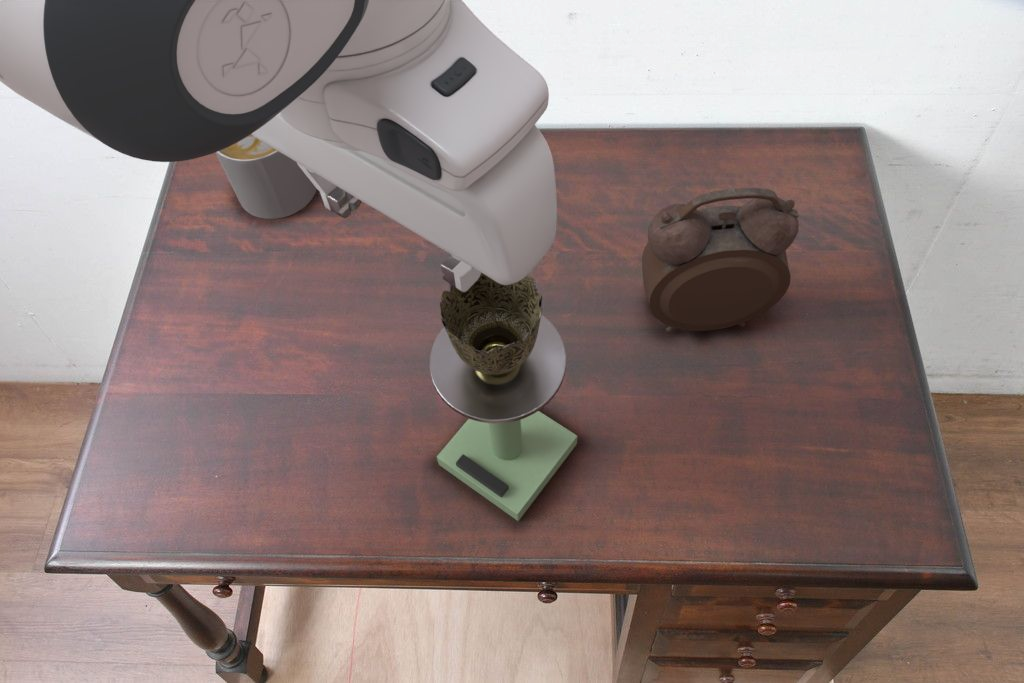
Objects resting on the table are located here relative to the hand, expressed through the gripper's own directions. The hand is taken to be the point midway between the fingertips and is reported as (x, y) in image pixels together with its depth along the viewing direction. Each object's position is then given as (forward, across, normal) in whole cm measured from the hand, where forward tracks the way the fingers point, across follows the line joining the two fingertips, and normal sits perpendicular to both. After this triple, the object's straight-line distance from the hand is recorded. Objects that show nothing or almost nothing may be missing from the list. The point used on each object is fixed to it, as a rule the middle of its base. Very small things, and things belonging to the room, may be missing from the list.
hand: (401, 242), depth 48 cm
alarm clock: (+37, +10, +31) cm, 49 cm away
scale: (+37, +3, +5) cm, 37 cm away
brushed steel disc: (+19, +3, +5) cm, 20 cm away
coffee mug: (+37, -42, +18) cm, 59 cm away
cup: (+18, +2, +5) cm, 19 cm away
